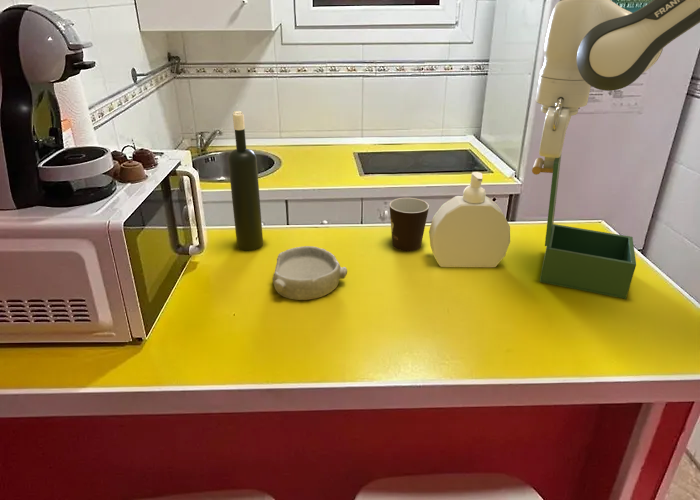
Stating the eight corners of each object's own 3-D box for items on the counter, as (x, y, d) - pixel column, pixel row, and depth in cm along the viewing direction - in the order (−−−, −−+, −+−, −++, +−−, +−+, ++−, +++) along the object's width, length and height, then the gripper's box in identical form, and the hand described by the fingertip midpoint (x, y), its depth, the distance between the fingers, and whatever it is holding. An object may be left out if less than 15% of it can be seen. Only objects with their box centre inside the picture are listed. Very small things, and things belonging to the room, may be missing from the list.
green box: (622, 270, 108) (632, 236, 105) (625, 300, 98) (636, 264, 94) (544, 255, 114) (551, 223, 110) (539, 283, 103) (546, 248, 100)
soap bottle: (429, 269, 108) (438, 178, 99) (426, 256, 113) (434, 169, 103) (506, 269, 108) (522, 178, 99) (500, 257, 113) (514, 169, 104)
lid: (562, 145, 103) (537, 144, 104) (558, 163, 92) (531, 162, 94) (553, 221, 110) (530, 219, 111) (549, 246, 99) (524, 244, 101)
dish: (278, 308, 95) (277, 285, 92) (264, 272, 106) (263, 250, 104) (353, 295, 99) (354, 272, 97) (332, 261, 110) (332, 240, 108)
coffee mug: (420, 257, 112) (423, 215, 108) (382, 250, 115) (384, 209, 110) (432, 236, 122) (436, 196, 117) (397, 230, 125) (399, 191, 120)
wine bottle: (232, 249, 115) (217, 113, 101) (246, 239, 120) (233, 107, 106) (254, 254, 113) (242, 116, 99) (268, 243, 118) (258, 110, 104)
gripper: (579, 106, 83) (563, 187, 90) (582, 85, 100) (568, 154, 106) (538, 102, 85) (525, 182, 92) (548, 82, 102) (536, 151, 109)
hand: (548, 167), depth 99 cm, fingers closed, pressing on lid
